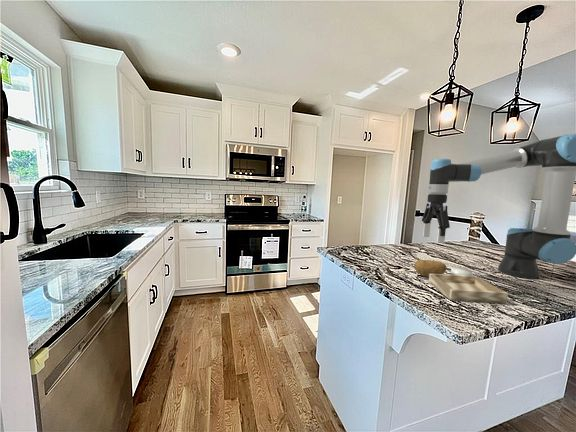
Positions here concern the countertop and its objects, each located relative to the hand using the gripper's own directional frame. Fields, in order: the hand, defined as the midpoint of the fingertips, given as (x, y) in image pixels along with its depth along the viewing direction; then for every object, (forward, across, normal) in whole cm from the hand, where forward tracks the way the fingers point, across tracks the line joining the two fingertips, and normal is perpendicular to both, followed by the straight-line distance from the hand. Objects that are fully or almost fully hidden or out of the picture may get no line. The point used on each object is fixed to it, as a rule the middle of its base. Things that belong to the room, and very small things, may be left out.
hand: (432, 239), depth 113 cm
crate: (+18, +16, +6) cm, 25 cm away
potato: (+18, 0, 0) cm, 18 cm away
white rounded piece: (+18, 0, +14) cm, 23 cm away
